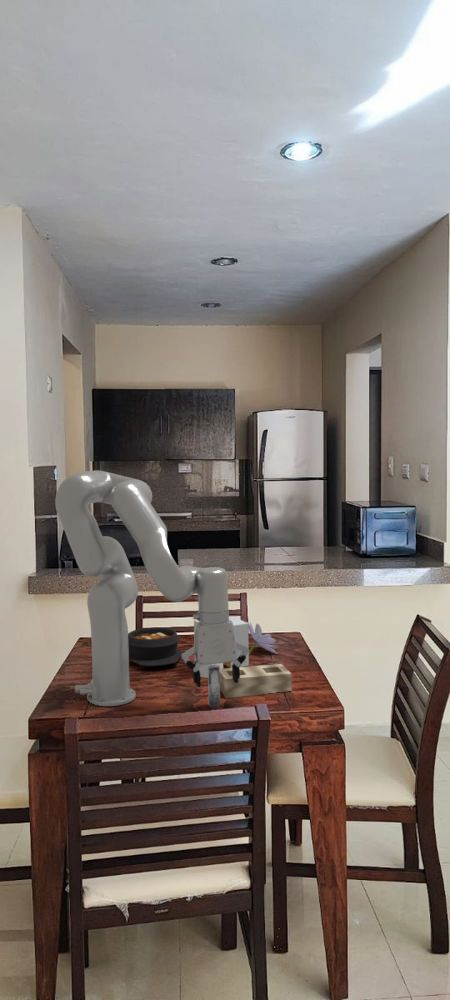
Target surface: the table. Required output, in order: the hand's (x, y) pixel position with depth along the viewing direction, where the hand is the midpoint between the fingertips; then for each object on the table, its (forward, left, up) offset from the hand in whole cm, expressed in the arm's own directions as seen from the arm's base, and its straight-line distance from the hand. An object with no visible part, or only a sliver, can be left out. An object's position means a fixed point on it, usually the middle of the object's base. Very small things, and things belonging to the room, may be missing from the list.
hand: (216, 683), depth 186 cm
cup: (+3, +26, -6) cm, 27 cm away
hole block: (+12, +9, -6) cm, 16 cm away
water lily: (+24, +43, -6) cm, 49 cm away
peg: (-1, 0, -6) cm, 6 cm away
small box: (+12, +33, -6) cm, 36 cm away
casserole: (-11, +44, -6) cm, 46 cm away
